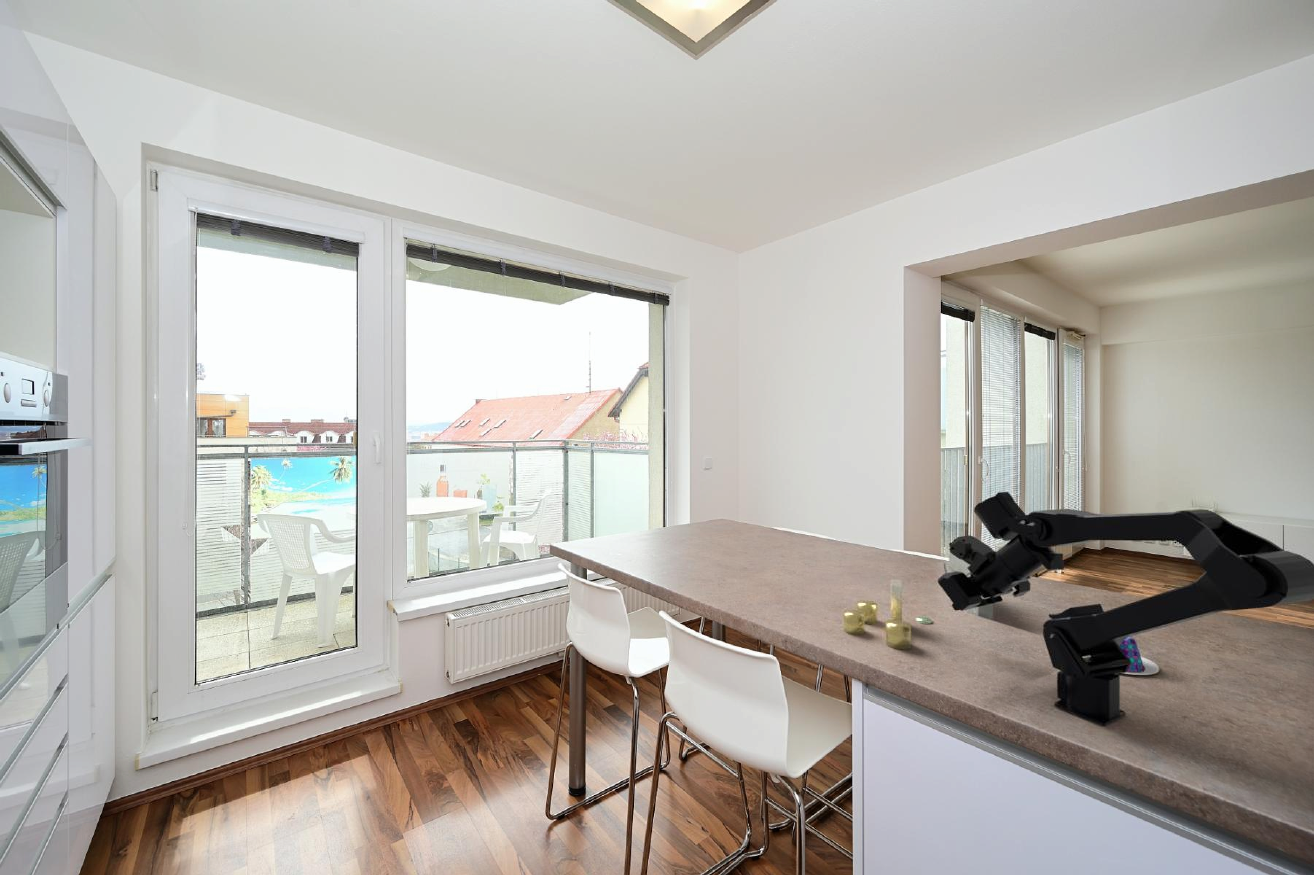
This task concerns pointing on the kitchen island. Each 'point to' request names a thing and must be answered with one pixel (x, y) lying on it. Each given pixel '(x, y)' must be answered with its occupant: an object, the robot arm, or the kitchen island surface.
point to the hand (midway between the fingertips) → (954, 608)
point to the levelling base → (866, 617)
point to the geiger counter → (962, 566)
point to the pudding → (1137, 658)
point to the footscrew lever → (897, 620)
